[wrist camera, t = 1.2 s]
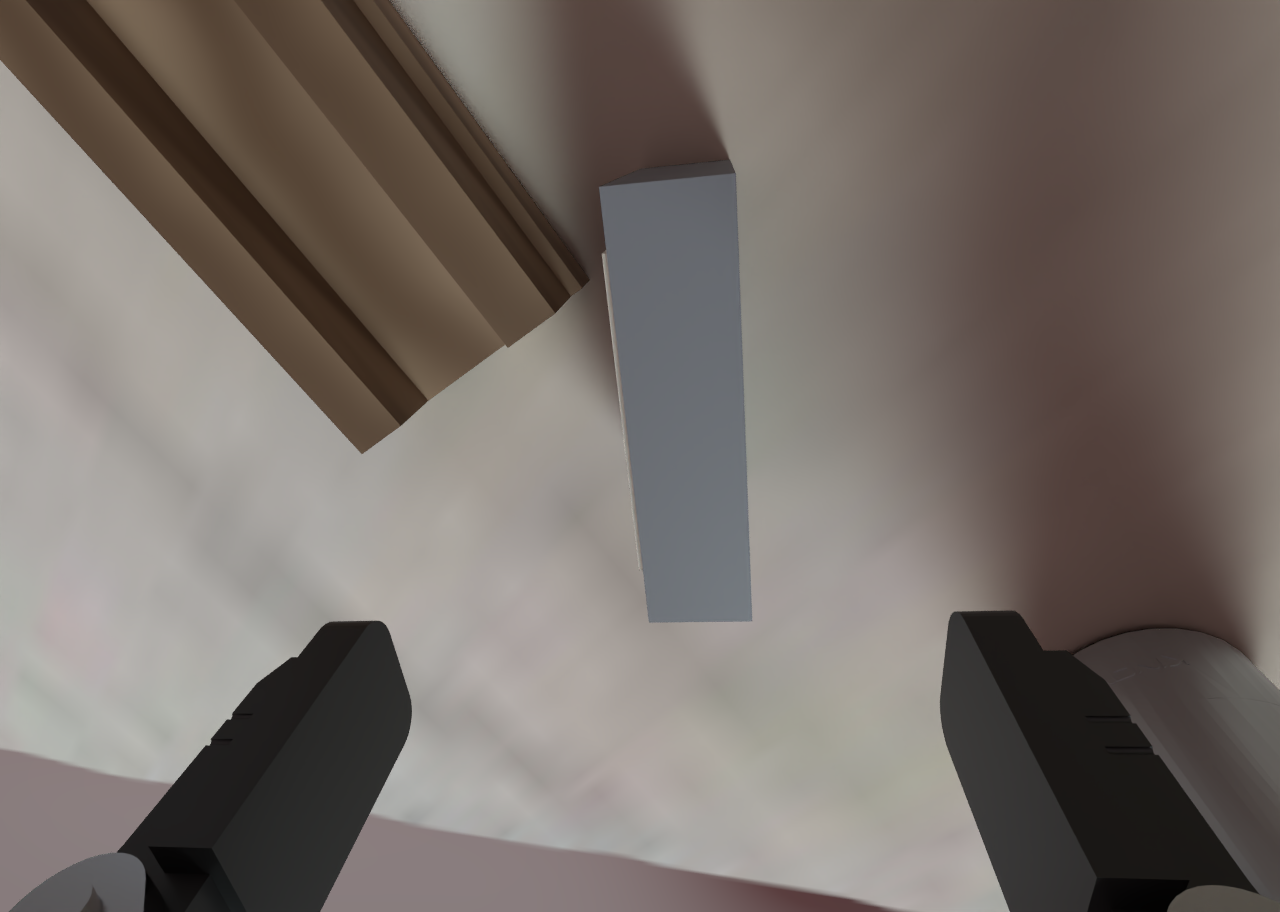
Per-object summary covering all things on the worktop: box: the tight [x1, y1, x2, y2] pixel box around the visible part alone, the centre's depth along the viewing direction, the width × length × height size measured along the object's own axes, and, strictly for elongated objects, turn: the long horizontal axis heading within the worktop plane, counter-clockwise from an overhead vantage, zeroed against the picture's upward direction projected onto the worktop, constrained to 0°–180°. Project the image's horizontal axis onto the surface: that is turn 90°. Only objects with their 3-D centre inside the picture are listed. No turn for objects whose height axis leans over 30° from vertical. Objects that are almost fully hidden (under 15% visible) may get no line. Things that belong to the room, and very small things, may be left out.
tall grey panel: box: [599, 160, 752, 622], centre depth 21 cm, size 3×12×9 cm, turn 5°
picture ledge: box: [0, 0, 589, 454], centre depth 22 cm, size 10×16×4 cm, turn 36°
